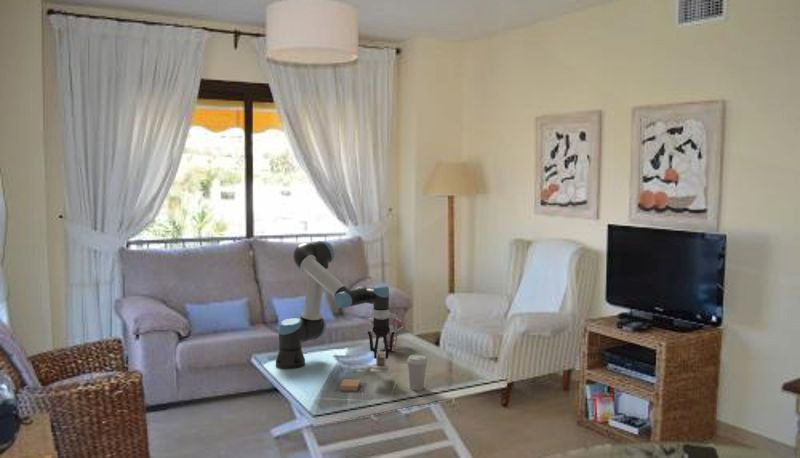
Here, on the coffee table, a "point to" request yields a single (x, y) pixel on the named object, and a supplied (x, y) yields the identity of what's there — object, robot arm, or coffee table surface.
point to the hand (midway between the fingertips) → (381, 365)
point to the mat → (360, 389)
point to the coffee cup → (417, 371)
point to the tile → (350, 385)
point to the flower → (393, 325)
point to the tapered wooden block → (380, 365)
